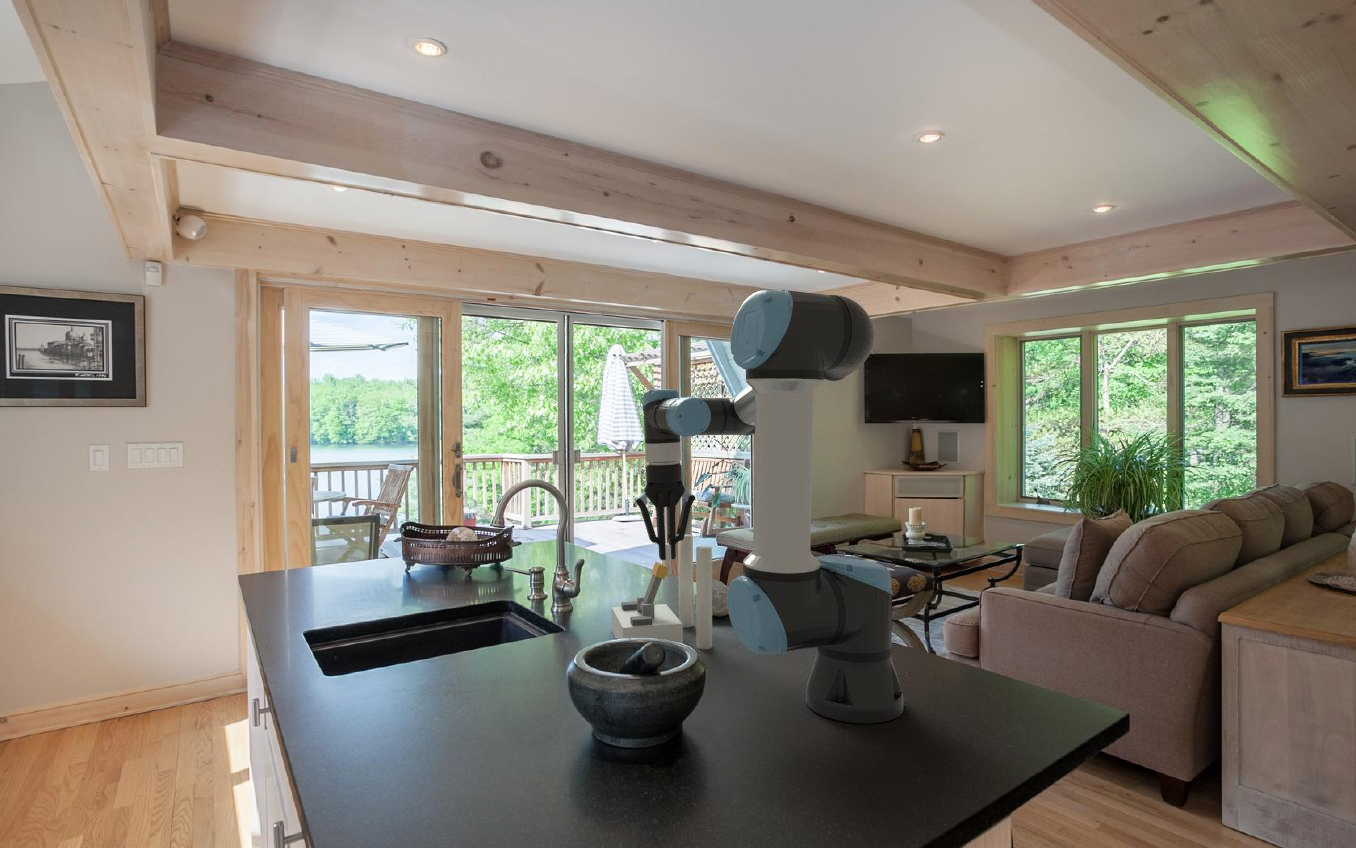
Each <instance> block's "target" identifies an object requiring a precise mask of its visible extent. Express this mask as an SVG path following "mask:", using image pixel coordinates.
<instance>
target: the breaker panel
mask: <svg viewBox="0 0 1356 848" xmlns="http://www.w3.org/2000/svg"><path fill="white" fill-rule="evenodd" d="M644 597H645V596H638V597H636V601H635V600H633V601H621V602H620V604H621V606H613V607H611V631H612V633H613V635H614V638H615V639H616V638H630V637H648V638H658V639H666V640H670V641H679V642H682V643H683V641H684V638H683V635H684V634H683V633H684V631H683V629H684V628H683V624H682V622H681V621H680V620H679V617H677V615H676V614H675V613H674V611H672V609H671V608H670V607H669V606H668V605H667V604H666V603H663V604H660V603H659V604H655V603H653V604H642V611H641V609H640V607H639V604H640V603H641V602H642V601H643V599H644Z"/></svg>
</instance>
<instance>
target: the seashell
mask: <svg viewBox="0 0 1356 848" xmlns="http://www.w3.org/2000/svg"><path fill="white" fill-rule="evenodd" d="M728 587H729V586H727V585H726V583H725V584H724V583H723V582H722V581H720V579H713V578H712V617H724V616H727V615H729V613H728V606H727V591H728ZM693 609H694V610H695V611H696V594H695V596H694V605H693Z"/></svg>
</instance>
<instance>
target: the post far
mask: <svg viewBox="0 0 1356 848" xmlns="http://www.w3.org/2000/svg"><path fill="white" fill-rule="evenodd" d="M693 539H694V536H693V535H692V534H686V533H685V536H684V539H683V540H682V541H679V542H677V543H678V544H677V545H678V546H677V547H678V551H677V552H678V561H677V562H678V565H677V566H678V573H677V574H678V619H679V620H680V621H681V622H682V624H683V629H686V628H691V627H693V626H694V553H693V552H694V547H693V546H694V540H693Z"/></svg>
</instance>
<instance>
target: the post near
mask: <svg viewBox="0 0 1356 848" xmlns="http://www.w3.org/2000/svg"><path fill="white" fill-rule="evenodd" d="M712 579H713V547H712V546H709V545H707V546H706V545H704V546H703V545H699V546H696V547H695V595H696V610H695V628H696V629H695V647H696V649H698V650H710V649H712V648H713V616H712Z"/></svg>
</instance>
